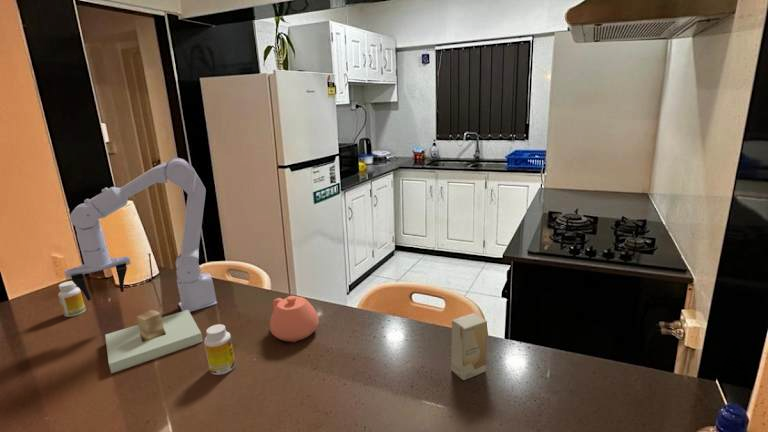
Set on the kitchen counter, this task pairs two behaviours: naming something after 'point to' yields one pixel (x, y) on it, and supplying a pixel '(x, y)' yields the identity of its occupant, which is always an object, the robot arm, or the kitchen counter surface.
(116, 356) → the socket board
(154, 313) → the oak peg
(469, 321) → the skincare box
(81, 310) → the supplement bottle
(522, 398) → the kitchen counter surface
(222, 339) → the supplement bottle
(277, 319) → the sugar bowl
